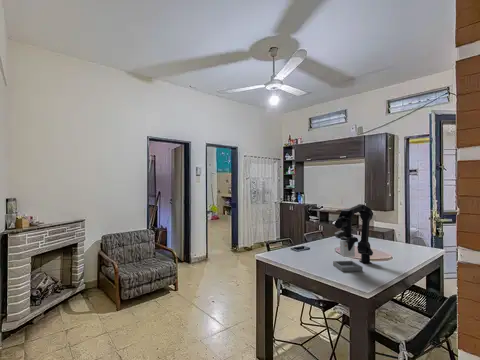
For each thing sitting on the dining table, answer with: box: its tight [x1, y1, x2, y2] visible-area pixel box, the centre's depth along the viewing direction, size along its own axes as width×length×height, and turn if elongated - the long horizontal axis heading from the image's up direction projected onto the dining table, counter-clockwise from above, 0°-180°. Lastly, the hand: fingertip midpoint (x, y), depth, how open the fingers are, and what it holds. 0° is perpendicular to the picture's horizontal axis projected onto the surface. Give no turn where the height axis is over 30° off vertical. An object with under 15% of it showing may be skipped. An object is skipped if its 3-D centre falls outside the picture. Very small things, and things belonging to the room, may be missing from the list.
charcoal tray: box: [332, 260, 363, 273], centre depth 180 cm, size 14×14×3 cm
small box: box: [339, 239, 356, 258], centre depth 180 cm, size 8×6×10 cm
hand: (347, 249), depth 180 cm, fingers closed on small box, 6 cm apart
